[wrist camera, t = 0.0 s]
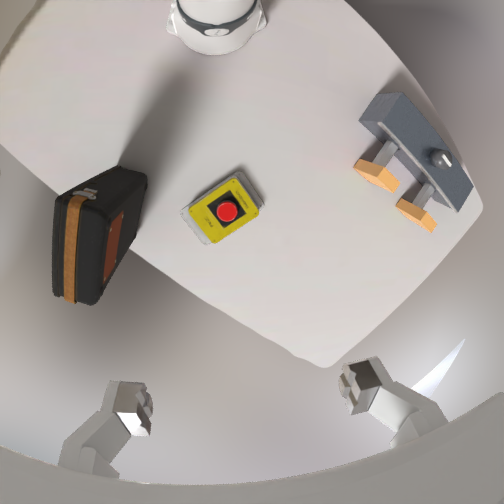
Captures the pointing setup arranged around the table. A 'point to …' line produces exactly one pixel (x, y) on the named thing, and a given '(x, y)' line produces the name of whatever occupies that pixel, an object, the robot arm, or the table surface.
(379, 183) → the knob
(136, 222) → the black box
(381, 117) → the mount
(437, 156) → the dial
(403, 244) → the table surface
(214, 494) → the robot arm
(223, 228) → the emergency button
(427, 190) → the knob
